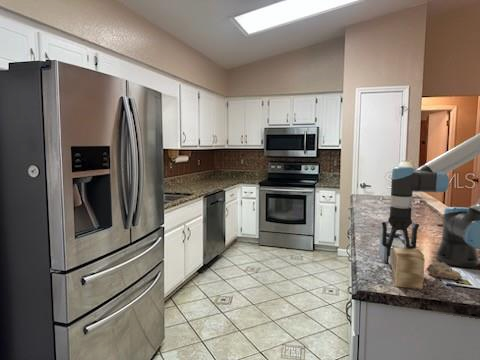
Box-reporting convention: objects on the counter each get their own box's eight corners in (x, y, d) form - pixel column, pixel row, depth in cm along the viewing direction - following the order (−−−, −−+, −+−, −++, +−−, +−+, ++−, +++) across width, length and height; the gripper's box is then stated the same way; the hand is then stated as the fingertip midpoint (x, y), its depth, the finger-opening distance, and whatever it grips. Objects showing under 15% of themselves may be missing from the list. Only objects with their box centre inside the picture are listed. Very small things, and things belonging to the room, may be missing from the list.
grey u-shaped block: (397, 254, 148) (399, 230, 146) (403, 263, 137) (405, 237, 136) (379, 253, 149) (380, 229, 148) (383, 262, 138) (385, 236, 137)
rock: (423, 274, 126) (450, 279, 117) (424, 259, 127) (451, 262, 118) (437, 276, 130) (464, 281, 121) (437, 261, 131) (464, 264, 122)
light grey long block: (396, 256, 143) (397, 236, 142) (406, 272, 126) (408, 249, 125) (384, 256, 145) (386, 235, 144) (393, 271, 127) (395, 248, 126)
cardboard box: (416, 280, 120) (418, 249, 119) (422, 288, 113) (424, 256, 112) (391, 278, 122) (393, 247, 121) (396, 286, 115) (397, 254, 114)
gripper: (422, 205, 130) (419, 262, 133) (375, 203, 135) (372, 259, 137) (428, 209, 123) (424, 269, 126) (378, 207, 127) (375, 265, 130)
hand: (397, 264), depth 132 cm, fingers closed on light grey long block, 5 cm apart
